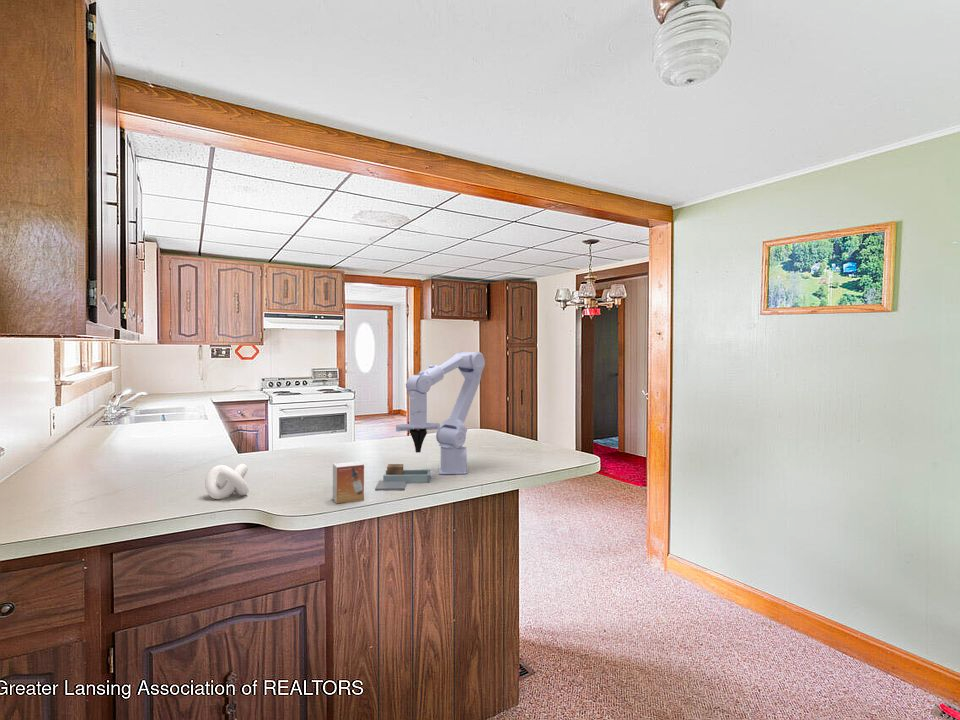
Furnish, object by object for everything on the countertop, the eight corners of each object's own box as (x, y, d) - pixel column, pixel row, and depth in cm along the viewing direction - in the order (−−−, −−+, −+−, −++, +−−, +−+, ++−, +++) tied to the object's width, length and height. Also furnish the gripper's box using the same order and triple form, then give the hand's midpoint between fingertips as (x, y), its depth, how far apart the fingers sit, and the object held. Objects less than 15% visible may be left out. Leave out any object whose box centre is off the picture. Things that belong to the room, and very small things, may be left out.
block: (403, 478, 166) (403, 463, 166) (402, 482, 162) (402, 466, 162) (388, 478, 166) (388, 464, 166) (387, 482, 162) (387, 467, 162)
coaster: (406, 482, 162) (406, 480, 162) (404, 490, 153) (404, 488, 153) (379, 482, 161) (379, 480, 161) (375, 490, 152) (375, 488, 152)
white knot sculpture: (261, 494, 148) (261, 464, 148) (222, 505, 138) (222, 473, 137) (239, 488, 154) (239, 459, 154) (200, 498, 144) (200, 467, 143)
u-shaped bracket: (430, 476, 168) (430, 469, 168) (429, 482, 161) (429, 475, 161) (385, 477, 167) (385, 470, 167) (383, 483, 160) (383, 475, 160)
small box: (336, 504, 139) (336, 467, 139) (332, 498, 144) (332, 463, 144) (364, 500, 143) (364, 464, 142) (359, 495, 148) (359, 460, 147)
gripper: (437, 409, 170) (437, 448, 170) (394, 410, 166) (394, 450, 166) (441, 411, 163) (441, 452, 163) (397, 413, 159) (397, 455, 159)
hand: (418, 451), depth 164 cm, fingers closed
